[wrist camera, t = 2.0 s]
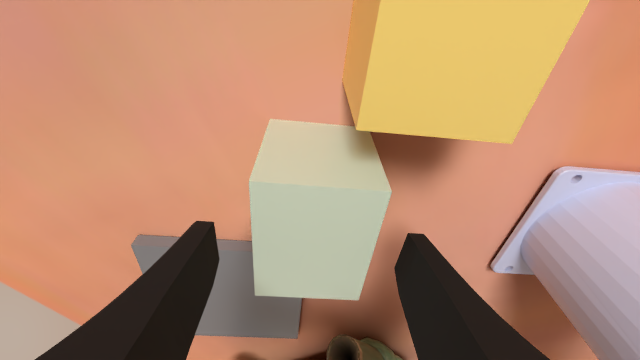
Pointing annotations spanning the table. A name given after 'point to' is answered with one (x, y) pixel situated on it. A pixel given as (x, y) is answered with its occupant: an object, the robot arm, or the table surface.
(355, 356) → the stretcher
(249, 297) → the baseplate
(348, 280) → the sage brick
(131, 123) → the table surface
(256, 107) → the table surface
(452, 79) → the mustard brick
